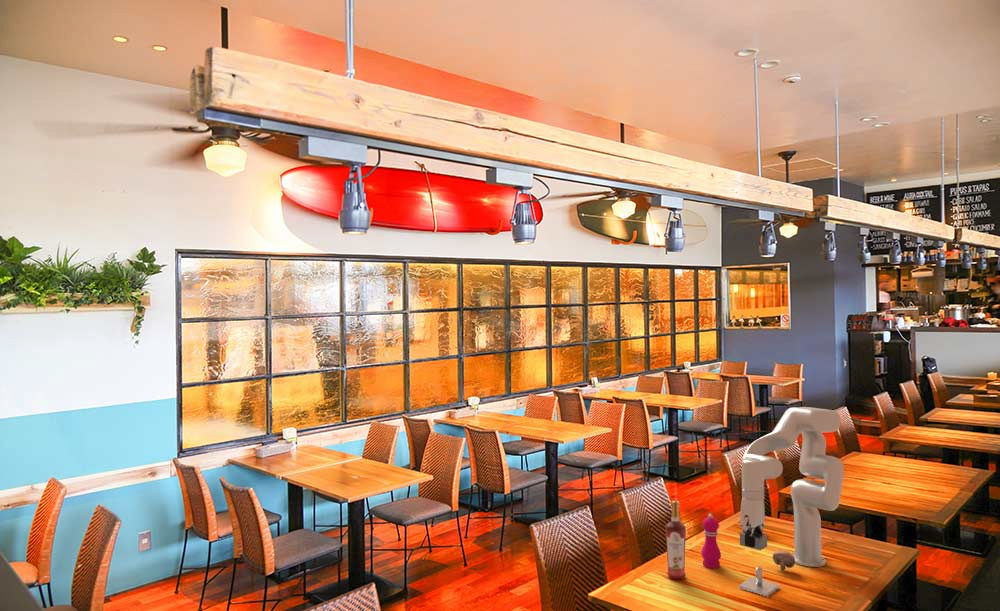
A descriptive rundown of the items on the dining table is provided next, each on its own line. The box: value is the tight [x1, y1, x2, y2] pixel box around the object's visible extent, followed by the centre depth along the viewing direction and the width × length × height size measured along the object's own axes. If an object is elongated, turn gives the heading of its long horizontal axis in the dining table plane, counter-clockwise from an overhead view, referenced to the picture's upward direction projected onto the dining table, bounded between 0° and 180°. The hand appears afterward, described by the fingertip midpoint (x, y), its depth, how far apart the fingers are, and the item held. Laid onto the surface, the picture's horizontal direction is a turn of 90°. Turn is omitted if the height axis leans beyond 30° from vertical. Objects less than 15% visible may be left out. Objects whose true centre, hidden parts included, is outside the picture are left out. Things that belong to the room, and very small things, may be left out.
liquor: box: [665, 500, 687, 581], centre depth 238 cm, size 7×7×28 cm
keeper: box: [738, 566, 780, 598], centre depth 227 cm, size 10×10×7 cm
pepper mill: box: [701, 513, 722, 570], centre depth 248 cm, size 7×7×20 cm
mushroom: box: [772, 550, 796, 572], centre depth 242 cm, size 8×6×8 cm
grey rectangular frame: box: [739, 531, 768, 551], centre depth 230 cm, size 8×6×4 cm
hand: (753, 543), depth 230 cm, fingers closed on grey rectangular frame, 5 cm apart
